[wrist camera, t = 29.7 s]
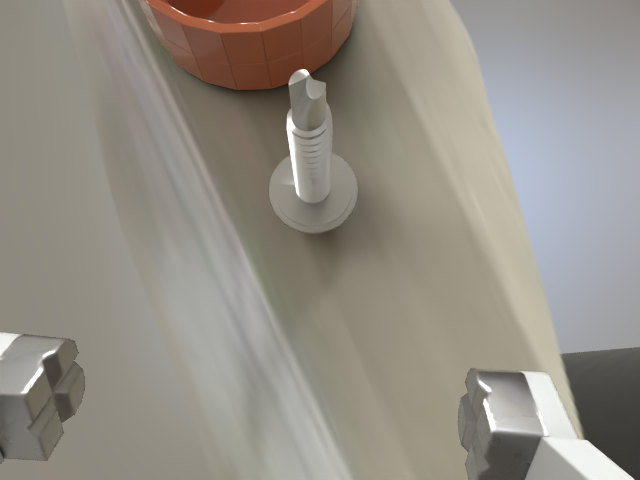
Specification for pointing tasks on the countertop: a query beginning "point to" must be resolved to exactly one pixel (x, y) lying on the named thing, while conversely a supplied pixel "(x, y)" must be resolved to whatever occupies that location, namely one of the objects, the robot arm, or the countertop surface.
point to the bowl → (250, 37)
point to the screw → (311, 165)
